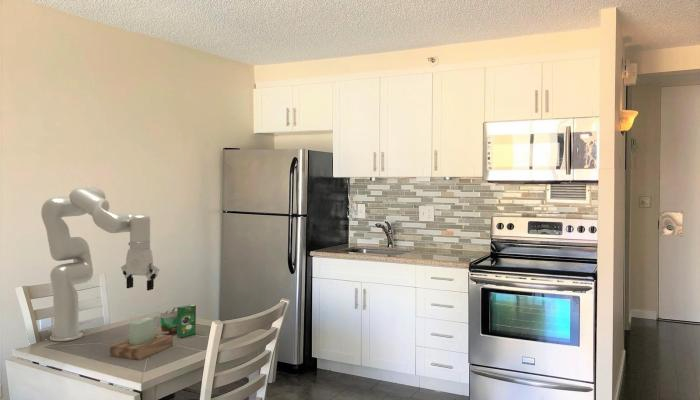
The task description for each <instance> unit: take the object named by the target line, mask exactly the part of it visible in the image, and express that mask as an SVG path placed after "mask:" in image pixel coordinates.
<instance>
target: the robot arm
mask: <svg viewBox="0 0 700 400" xmlns="http://www.w3.org/2000/svg"><path fill="white" fill-rule="evenodd" d="M109 210H110V203H109V201H108V199H106V193H105V192H104V191H103V190H102V189H101V188H99V187H95V186H93V187H92V186H91V187H88V186H86V187H83V186H82V187H77V188H74V189H73V190H71V191H70V193H69V195H68V196H57V197H55V196H54V197H52V198H48V199H47V200H45V201H44V202H43V204H42V207H41V210H40V215H41V219H42V222H43V224H44V227H45V231H46V235H47V236H46V237H47V242H48V247H49V253H50V256H51V258H52V259H53V260H54V261H56V262H61V261H62V262H63V261H70V260H71V261H72V260H73V261H72V262H69V263H68V262H65V263H61V264H58V265H56V266H54V267H53V268H52V269H51V272H50V274H49V277H50V282H51V287H52V300H53V325H52V326H50V327H49V328H48V329H47V332H50V333H51V335H50V336H49V340H50V341H52V342H68V341H74V340H78V339H81V338H83V335H84V334H83V332H81V331H80V330H79V329H80V328H79V326H80V325H79V323H80V321H79V315H80V314H79V312H80V311H79V294H78V291H77V289H76V288H75V286H74V285H79V284H84V283H87V282H89V281H91V280H92V277H93V275H94V269H93V262H92V256H91V250H90V246H89V244H88V242H87V240H86V239H85V238H83V237H80V236H72V237H71V235H70V234H71V233H70V228H69V226H68V224H67V223H66V221H65V220H64V219H63V218H64V217H78V216H79V217H80V216H84V215H86V214H87V215H90V216H91V218H92V221H93V223H94V224H95V225H96V226H97V227H98V228H100V229H101V230H102V231H105V232H107V233H110V234H120V233H121V234H122V233H129V242H128V244H127V245H128V246H129V248H128V250H127V254H126V259H125V264H124V265H122V266H121V267H120V269H121V271H122V274H123V275H124V278H125V280H126V283H125V284H126V289H132V288H134V277H133V276H140V277H141V276H144V277H146V278H147V280H146V291H152V290H154V286H155V284H154V280H155V279H156V278H157V276H158V274H159V271H160V269H159V268H158V266H156V265H154V259H153V251H152V249H151V217H150V215H148V214H137V213H133V212H130V213H129V212H125V213H111V212H109Z"/></svg>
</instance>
